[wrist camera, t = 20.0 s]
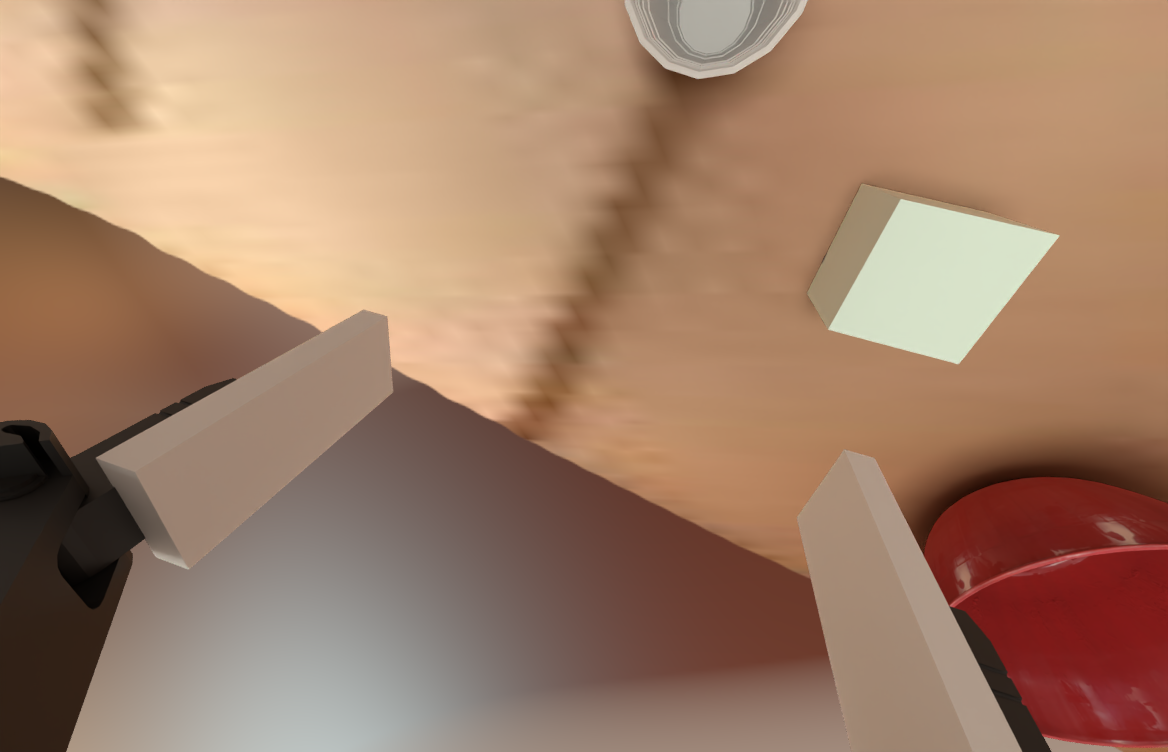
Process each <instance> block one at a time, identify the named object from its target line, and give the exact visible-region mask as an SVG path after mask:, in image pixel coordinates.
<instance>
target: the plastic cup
mask: <svg viewBox="0 0 1168 752" xmlns="http://www.w3.org/2000/svg"><path fill="white" fill-rule="evenodd" d="M807 1H808V0H625V7H626V9H627V12H628V14H629V17H630V19H631V22H632V25H633V27H634V30H635V32H636V35H637V37H638V40H639V42H640V44H641V45H642V46H643V47H644V48H645V49H646V50H647V51H648V52H649V53H650V54H651V55H652V56H653V57H654V58H655V59H656V60H657V61H658V62H659V63H660V64H661V65H662V66H663V67H664V68H665V69H668V70H671V71H674V72H678V73H681V74H684V75H687V76H690V77H693V78H696V79H702V78H708V77H715V76H721V75H728V74H734V73H736V72H738V71H739V70H741V69H743V68H744V67H746V66H747V65H749V64H751V63H752V62H754V61H756V60H757V59H759V58H760V57H762V56H764V55H765V54H767V53H769V52H770V51H771V50H772V49H773V48H774V47H775V45H776V44H777V43H778V42H779V41H780V39H781V38H782V37H783V36H784V35H785V33H786V32H787V31H788V30H789V29H790V27H791V26H792V25H793V24H794V23H795V21H796V20H797V19H798V18H799V17H800V15H801V14H802V13H803V10H804V8H805V5H806V3H807Z"/></svg>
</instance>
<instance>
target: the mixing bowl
mask: <svg viewBox="0 0 1168 752" xmlns="http://www.w3.org/2000/svg"><path fill="white" fill-rule="evenodd" d="M924 558H925V559H926V561H927V563H928V565H929V567H930V569H931V571H932V573H933V575H934V577H935V579H936V581H937V583H938V585H939V587H940V589H941V591H942V593H943V595H944V597H945V599H946V601H947V603H948V605H949V606H951V607H954V608H957V609H960V610H963V611H966V613H967V614H968V615H969V616H970V617H971V619H972V620H973V621H974V622H975V623H976V624H977V626H978V627H979V628H980V629H981V630H982V631H983V633H984V634H985V635H986V636H987V637H988V639H989V640H990V641H991V643H992V644H993V646H994V648H995V650H996V652H997V654H998V655H999V657H1000V659H1001V661H1002V663H1003V664H1004V666H1005V668H1006V670H1007V672H1008V673H1007V677H1008V678H1011V679H1012V681H1013V683H1014V684H1015V686H1016V688H1017V690H1018V692H1019V694H1020V695H1021V697H1022V701H1021V702H1022V704H1023V705H1025V706H1027V708H1028V710H1029V712H1030V714H1031V715H1032V717H1033V719H1034V721H1035V723H1036V725H1037V726H1038V728H1039V730H1040V732H1041V734H1042V735H1043V736H1044V737H1048V738H1053V739H1058V740H1063V741H1069V742H1076V743H1083V744H1091V745H1101V746H1113V747H1139V748H1156V747H1168V503H1165V502H1162V501H1160V500H1157V499H1154V498H1151V497H1148V496H1145V495H1142V494H1139V493H1136V492H1132V491H1129V490H1125V489H1122V488H1118V487H1115V486H1111V485H1107V484H1104V483H1100V482H1094V481H1087V480H1082V479H1075V478H1063V477H1034V478H1022V479H1016V480H1011V481H1006V482H1001V483H997V484H994V485H991V486H988V487H985V488H982V489H980V490H977V491H975V492H973V493H971V494H969V495H967V496H965V497H963V498H962V499H960V500H959V501H957V502H956V503H955V504H953V505H952V506H950V507H949V508H948V509H947V510H946V511H945V512H943V514H942V515H941V516H940V517H939V518H938V520H937V521H936V523H935V524H934V526H933V528H932V530H931V532H930V534H929V536H928V539H927V542H926V546H925V551H924Z"/></svg>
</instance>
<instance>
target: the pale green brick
mask: <svg viewBox="0 0 1168 752" xmlns="http://www.w3.org/2000/svg"><path fill="white" fill-rule="evenodd" d="M1059 236H1060V235H1057V234H1054V233H1051V232H1048V231H1045V230H1041V229H1038V228H1035V227H1032V226H1029V225H1026V224H1023V223H1020V222H1017V221H1014V220H1010V219H1007V218H1004V217H1001V216H998V215H995V214H992V213H989V212H985V211H981V210H976V209H972V208H968V207H963V206H959V205H954V204H950V203H946V202H941V201H937V200H933V199H928V198H924V197H919V196H915V195H911V194H906V193H902V192H897V191H893V190H889V189H884V188H880V187H876V186H871V185H867V184H861V186H860V188H859V190H858V192H857V194H856V196H855V198H854V200H853V202H852V204H851V206H850V208H849V210H848V212H847V214H846V216H845V218H844V220H843V222H842V224H841V226H840V228H839V230H838V232H837V234H836V236H835V238H834V240H833V242H832V244H831V246H830V248H829V250H828V252H827V255H826V257H825V259H824V261H823V263H822V264H821V266H820V268H819V270H818V272H817V274H816V276H815V278H814V280H813V282H812V284H811V286H810V288H809V290H808V292H807V295H808V297H809V298H810V300H811V302H812V303H813V305H814V307H815V308H816V310H817V312H818V313H819V315H820V317H821V319H822V320H823V322H824V324H825V325H826V327H827V329H828V330H831V331H835V332H839V333H843V334H846V335H850V336H854V337H858V338H862V339H865V340H869V341H873V342H877V343H880V344H884V345H888V346H892V347H896V348H899V349H903V350H907V351H911V352H914V353H918V354H922V355H926V356H930V357H933V358H937V359H941V360H945V361H948V362H952V363H956V364H959V363H960V362H961V361H962V359H963V358H964V357H965V356H966V354H967V353H968V352H969V350H970V349H971V348H972V347H973V345H974V344H975V343H976V342H977V340H978V339H979V338H980V336H981V335H982V334H983V333H984V331H985V330H986V329H987V328H988V326H989V325H990V324H991V322H992V321H993V320H994V319H995V317H996V316H997V315H998V313H999V312H1000V311H1001V310H1002V308H1003V307H1004V306H1005V305H1006V303H1007V302H1008V301H1009V299H1010V298H1011V297H1012V296H1013V294H1014V293H1015V292H1016V291H1017V289H1018V288H1019V287H1020V285H1021V284H1022V283H1023V282H1024V280H1025V279H1026V278H1027V276H1028V275H1029V274H1030V273H1031V271H1032V270H1033V269H1034V268H1035V266H1036V265H1037V264H1038V262H1039V261H1040V260H1041V259H1042V257H1043V256H1044V255H1045V254H1046V252H1047V251H1048V250H1049V248H1050V247H1051V246H1052V245H1053V243H1054V242H1055V241H1056V240H1057V238H1058V237H1059Z"/></svg>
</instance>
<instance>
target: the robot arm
mask: <svg viewBox="0 0 1168 752" xmlns="http://www.w3.org/2000/svg"><path fill="white" fill-rule="evenodd" d="M391 393H393V385H392V372H391V359H390V346H389V333H388V319H387V316H384V315H380V314H377V313H373V312H370V311H367V310H362V311H360V312H359V313H357V314H355V315H353V316H351V317H350V318H348V319H346V320H344V321H342V322H340V323H339V324H337V325H335V326H333V327H331V328H330V329H328V330H326V331H324V332H322V333H321V334H319V335H317V336H315V337H313V338H312V339H310V340H308V341H306V342H304V343H303V344H301V345H299V346H297V347H295V348H293V349H292V350H290V351H288V352H286V353H284V354H283V355H281V356H279V357H277V358H275V359H274V360H272V361H270V362H268V363H267V364H265V365H263V366H261V367H259V368H257V369H255V370H254V371H252V372H250V373H248V374H246V375H245V376H243V377H241V378H239V379H234V378H232V379H229V380H226V381H223V382H219V383H216V384H213V385H210V386H206V387H204V388H202V389H200V390H198V391H197V392H195V393H192V394H191V395H189V396H187V397H185V398H183V399H181V401H180V403H174V404H172V405H170V406H168V407H166V408H164V409H162V410H161V411H160V413H159V414H153V415H151V416H149V417H147V418H145V419H144V420H142V421H140V422H138V423H136V424H134V425H132V426H130V427H129V428H127V429H125V430H123V431H121V432H119V433H117V434H115V435H114V436H112V437H110V438H108V439H107V440H104V441H102V442H100V443H98V444H97V445H95V446H93V447H91V448H89V449H87V450H85V451H84V452H82V453H80V454H78V455H76V456H73V457H71V458H70V457H69V456H68V455H67V453H66V451H65V450H64V448H63V447H62V445H61V444H60V442H59V441H58V439H57V438H56V436H55V434H54V433H53V431H52V430H51V429H50V428H49V427H48V426H47V425H46V424H45V423H40V422H36V421H31V420H19V421H18V420H17V421H5V422H0V752H66V751H67V748H68V745H69V742H70V739H71V736H72V734H73V731H74V728H75V725H76V722H77V719H78V717H79V714H80V711H81V708H82V705H83V702H84V699H85V697H86V694H87V690H88V688H89V685H90V682H91V680H92V677H93V674H94V671H95V668H96V665H97V663H98V660H99V657H100V654H101V651H102V648H103V646H104V643H105V640H106V637H107V634H108V631H109V628H110V626H111V623H112V620H113V617H114V614H115V612H116V609H117V606H118V603H119V600H120V597H121V595H122V592H123V589H124V586H125V583H126V580H127V577H128V575H129V572H130V569H131V566H132V560H133V554H132V553H131V551H130V549H131V548H133V547H134V546H136V545H137V544H138V543H140V542H141V541H142V540H144V539H145V540H146V541H147V543H148V545H149V547H150V548H151V550H152V552H153V553H154V555H155V557H157V558H160V559H162V560H165V561H167V562H170V563H173V564H175V565H178V566H181V567H183V568H186V569H190V568H191V567H192V566H194V565H195V564H196V563H197V562H198V561H199V560H200V559H202V558H203V557H204V556H205V555H206V554H207V553H209V552H210V551H211V550H212V549H213V548H214V547H215V546H216V545H218V544H219V543H220V542H221V541H222V540H223V539H225V538H226V537H227V536H228V535H229V534H230V533H232V532H233V531H234V530H235V529H236V528H237V527H238V526H240V525H241V524H242V523H243V522H244V521H245V520H246V519H247V518H249V517H250V516H251V515H252V514H253V513H255V512H256V511H257V510H258V509H259V508H260V507H261V506H263V504H265V503H266V502H267V501H268V500H269V499H270V498H272V497H273V496H274V495H275V494H276V493H278V492H279V491H280V490H281V489H282V488H283V487H284V486H286V485H287V484H288V483H289V482H290V481H291V480H292V479H294V478H295V477H296V476H297V475H298V474H299V473H301V472H302V471H303V470H304V469H305V468H306V467H307V466H309V465H310V464H311V463H312V462H313V461H314V460H315V459H317V458H318V457H319V456H320V455H321V454H322V453H323V452H324V451H326V450H327V449H328V448H329V447H330V446H332V445H333V444H334V443H335V442H336V441H337V440H338V439H339V438H341V437H342V436H343V435H344V434H345V433H347V432H348V431H349V430H350V429H351V428H352V427H353V426H355V425H356V424H357V423H358V422H359V421H360V420H362V419H363V418H364V417H365V416H366V415H367V414H368V413H370V411H372V410H373V409H374V408H375V407H376V406H378V405H379V404H380V403H381V402H382V401H383V400H384V399H386V398H387V397H388V396H389V395H390V394H391ZM797 521H798V525H799V529H800V533H801V538H802V542H803V546H804V551H805V555H806V559H807V564H808V568H809V572H810V577H811V581H812V585H813V589H814V594H815V598H816V602H817V607H818V611H819V615H820V619H821V624H822V628H823V632H824V636H825V641H826V645H827V650H828V654H829V658H830V662H831V667H832V671H833V676H834V680H835V684H836V689H837V693H838V697H839V702H840V706H841V710H842V715H843V719H844V723H845V727H846V732H847V736H848V740H849V745H850V749H851V752H1051V750H1050V748H1049V746H1048V745H1047V743H1046V741H1045V739H1044V737H1043V735H1042V734H1041V732H1040V730H1039V728H1038V726H1037V725H1036V723H1035V721H1034V719H1033V717H1032V715H1031V714H1030V712H1029V710H1028V708H1027V706H1025V705H1023V704H1022V702H1021V701H1022V697H1021V695H1020V694H1019V692H1018V690H1017V688H1016V686H1015V684H1014V683H1013V681H1012V679H1011V678H1008V677H1007V673H1008V672H1007V670H1006V668H1005V666H1004V664H1003V663H1002V661H1001V659H1000V657H999V655H998V654H997V652H996V650H995V648H994V646H993V644H992V643H991V641H990V640H989V639H988V637H987V636H986V635H985V634H984V633H983V631H982V630H981V629H980V628H979V627H978V626H977V624H976V623H975V622H974V621H973V620H972V619H971V617H970V616H969V615H968V614H967V613H966V611H963V610H960V609H957V608H954V607H951V606H949V605H948V603H947V601H946V599H945V597H944V595H943V593H942V591H941V589H940V587H939V585H938V583H937V581H936V579H935V577H934V575H933V573H932V571H931V569H930V567H929V565H928V563H927V561H926V559H925V558H924V556H923V554H922V552H921V550H920V548H919V546H918V544H917V542H916V540H915V538H914V536H913V534H912V532H911V530H910V528H909V526H908V524H907V522H906V520H905V518H904V516H903V514H902V512H901V510H900V508H899V506H898V504H897V502H896V500H895V498H894V496H893V494H892V492H891V490H890V488H889V486H888V484H887V482H886V480H885V478H884V476H883V474H882V472H881V470H880V468H879V466H878V464H877V462H876V460H875V458H872V457H869V456H866V455H862V454H859V453H855V452H852V451H848V450H845V449H844V450H843V452H842V453H841V455H840V456H839V458H838V459H837V461H836V462H835V463H834V465H833V466H832V468H831V469H830V471H829V472H828V473H827V475H826V476H825V478H824V479H823V481H822V482H821V483H820V485H819V486H818V488H817V489H816V491H815V492H814V493H813V495H812V496H811V498H810V499H809V501H808V502H807V503H806V505H805V506H804V508H803V509H802V511H801V512H800V513H799V515H798V516H797Z"/></svg>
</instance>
